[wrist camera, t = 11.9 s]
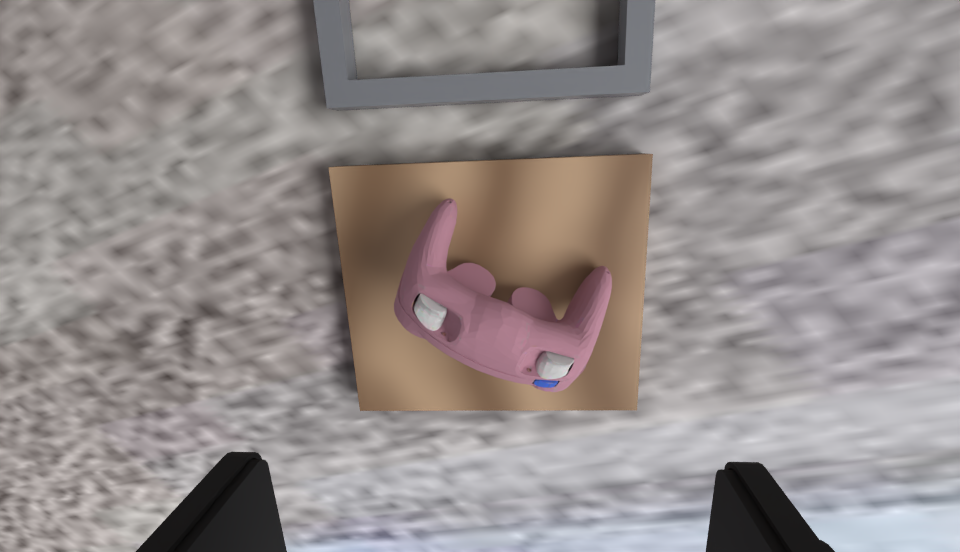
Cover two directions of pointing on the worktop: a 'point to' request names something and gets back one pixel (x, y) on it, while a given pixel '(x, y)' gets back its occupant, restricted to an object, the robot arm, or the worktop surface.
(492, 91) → the frame
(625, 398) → the walnut board
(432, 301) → the video game controller
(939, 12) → the worktop surface
